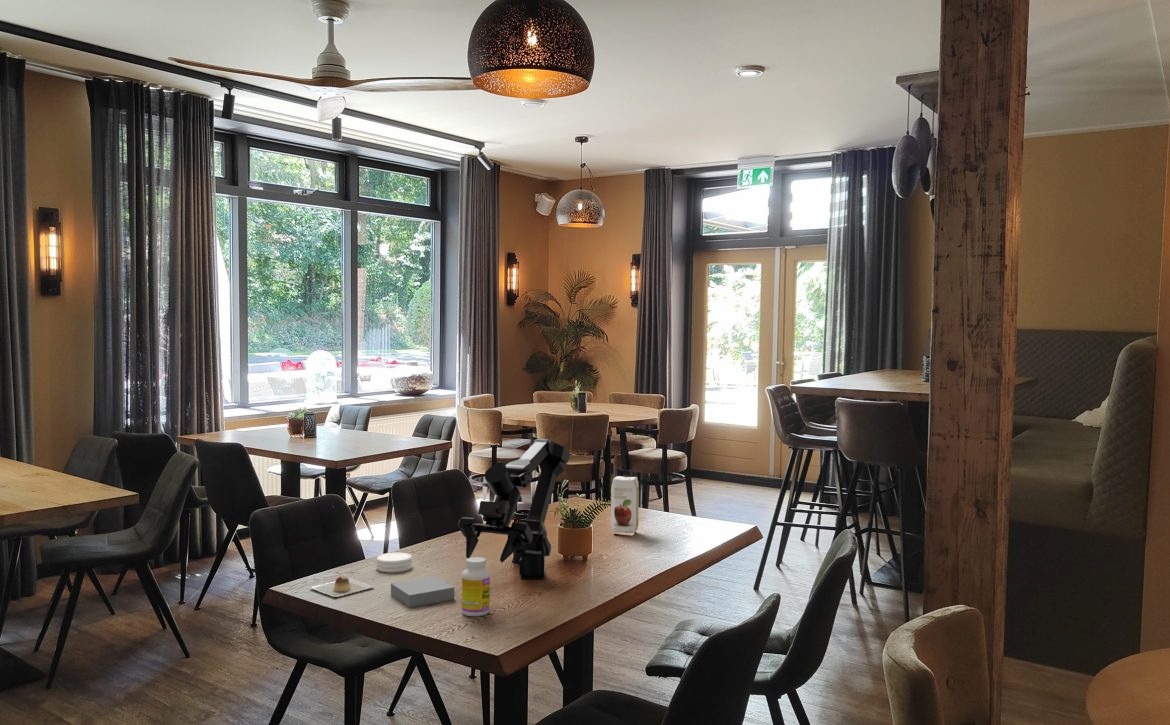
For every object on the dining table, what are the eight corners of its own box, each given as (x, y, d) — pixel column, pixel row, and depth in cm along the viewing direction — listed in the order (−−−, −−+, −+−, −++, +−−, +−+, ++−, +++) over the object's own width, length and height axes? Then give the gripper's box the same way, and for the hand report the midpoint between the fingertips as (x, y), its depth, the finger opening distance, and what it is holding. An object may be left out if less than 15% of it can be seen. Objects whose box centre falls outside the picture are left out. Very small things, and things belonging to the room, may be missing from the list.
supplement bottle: (484, 618, 199) (484, 563, 198) (457, 616, 200) (457, 562, 200) (493, 609, 205) (493, 556, 205) (467, 607, 207) (467, 555, 206)
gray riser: (434, 587, 223) (434, 576, 223) (454, 599, 213) (454, 587, 213) (390, 594, 216) (390, 583, 216) (409, 607, 206) (409, 595, 206)
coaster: (374, 565, 244) (374, 553, 244) (408, 562, 248) (408, 550, 248) (379, 574, 235) (379, 562, 235) (415, 571, 239) (415, 559, 239)
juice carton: (614, 530, 290) (615, 475, 289) (639, 532, 287) (640, 476, 287) (609, 535, 282) (610, 478, 282) (635, 537, 280) (635, 480, 280)
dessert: (308, 591, 220) (308, 573, 220) (348, 581, 229) (348, 564, 229) (334, 601, 213) (334, 582, 212) (375, 590, 222) (375, 572, 221)
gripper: (461, 485, 214) (438, 537, 204) (528, 490, 208) (508, 545, 198) (475, 510, 222) (454, 562, 212) (541, 516, 215) (522, 570, 205)
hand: (484, 559), depth 206 cm, fingers open, 9 cm apart
